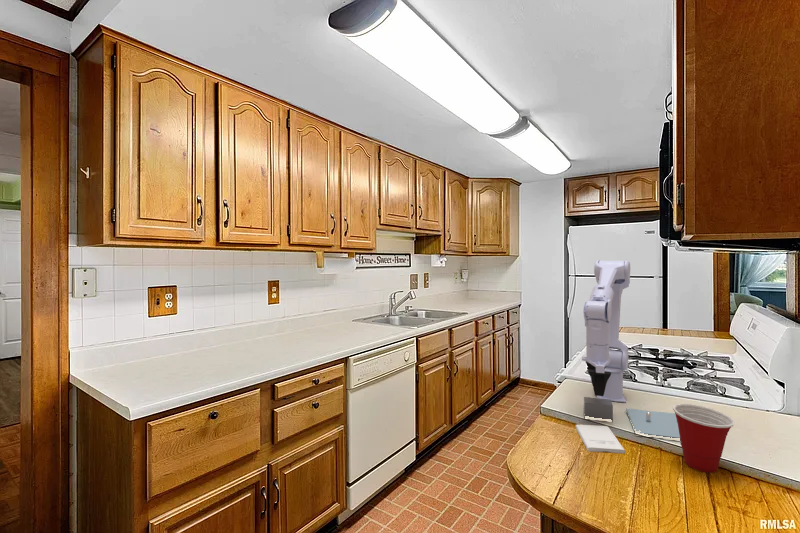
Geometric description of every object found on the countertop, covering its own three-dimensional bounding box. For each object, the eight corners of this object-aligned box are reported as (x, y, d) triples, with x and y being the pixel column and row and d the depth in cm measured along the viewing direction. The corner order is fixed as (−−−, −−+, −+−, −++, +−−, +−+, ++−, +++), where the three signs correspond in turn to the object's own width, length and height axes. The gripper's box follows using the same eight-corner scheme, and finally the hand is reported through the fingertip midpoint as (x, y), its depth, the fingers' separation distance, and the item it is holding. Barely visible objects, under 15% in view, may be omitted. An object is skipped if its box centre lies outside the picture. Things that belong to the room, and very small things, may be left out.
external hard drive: (608, 432, 106) (625, 456, 94) (575, 430, 108) (587, 453, 96) (608, 426, 106) (625, 449, 94) (575, 424, 108) (587, 446, 96)
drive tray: (626, 411, 117) (626, 399, 117) (700, 419, 110) (700, 407, 110) (635, 436, 102) (636, 422, 102) (722, 447, 96) (722, 432, 95)
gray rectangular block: (583, 413, 117) (583, 396, 117) (610, 416, 114) (610, 399, 114) (584, 419, 113) (584, 402, 113) (612, 423, 110) (612, 405, 110)
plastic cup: (738, 486, 81) (739, 427, 80) (673, 471, 86) (673, 416, 86) (730, 461, 90) (730, 408, 89) (671, 449, 95) (672, 399, 95)
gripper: (580, 336, 121) (580, 381, 121) (583, 348, 107) (583, 398, 108) (606, 338, 118) (606, 383, 119) (613, 350, 105) (613, 401, 105)
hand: (597, 390), depth 113 cm, fingers open, 7 cm apart
